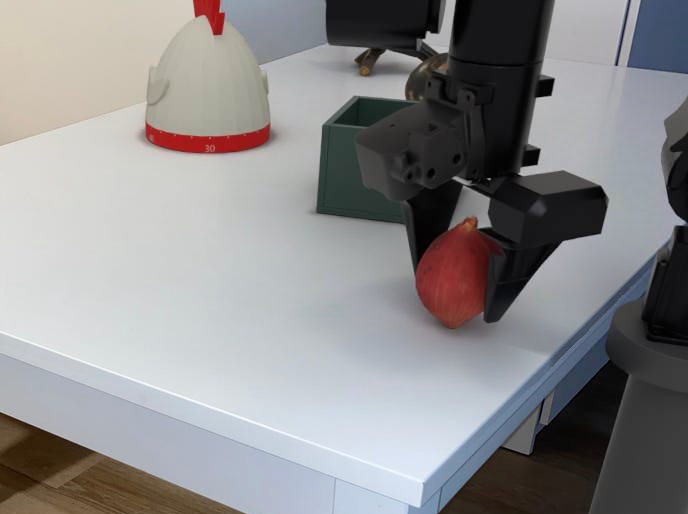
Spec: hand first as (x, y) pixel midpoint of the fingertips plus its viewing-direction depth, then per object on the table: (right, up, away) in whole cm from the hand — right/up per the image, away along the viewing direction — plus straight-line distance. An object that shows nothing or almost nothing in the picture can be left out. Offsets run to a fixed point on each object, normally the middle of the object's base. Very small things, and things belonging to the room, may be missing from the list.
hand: (455, 299), depth 70 cm
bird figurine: (+6, +50, +68) cm, 85 cm away
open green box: (0, +15, +23) cm, 28 cm away
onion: (0, -2, +1) cm, 2 cm away
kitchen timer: (-17, +29, +41) cm, 53 cm away
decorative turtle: (+10, +31, +44) cm, 55 cm away
